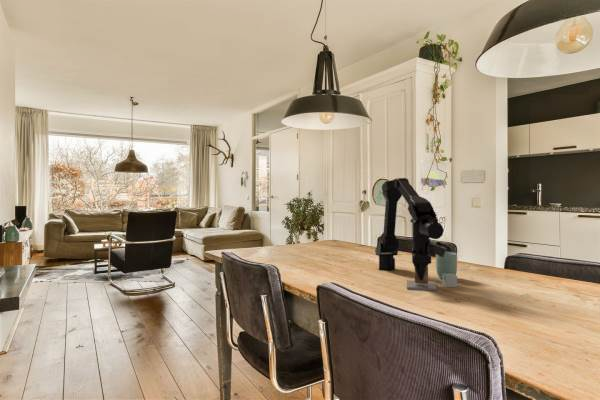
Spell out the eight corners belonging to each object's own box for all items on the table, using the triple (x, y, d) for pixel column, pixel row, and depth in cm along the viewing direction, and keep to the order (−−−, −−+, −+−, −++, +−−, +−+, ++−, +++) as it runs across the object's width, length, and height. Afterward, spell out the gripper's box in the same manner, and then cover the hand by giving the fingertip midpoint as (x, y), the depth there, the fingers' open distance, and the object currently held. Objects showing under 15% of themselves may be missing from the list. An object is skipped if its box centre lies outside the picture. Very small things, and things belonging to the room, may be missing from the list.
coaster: (406, 289, 129) (406, 287, 129) (407, 282, 139) (407, 280, 139) (436, 291, 126) (436, 288, 126) (434, 283, 136) (434, 281, 136)
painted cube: (446, 287, 132) (445, 276, 132) (442, 284, 136) (441, 273, 136) (457, 287, 131) (457, 276, 131) (452, 284, 135) (452, 273, 135)
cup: (460, 280, 140) (460, 254, 140) (440, 280, 140) (440, 255, 140) (452, 276, 148) (452, 251, 148) (433, 276, 148) (433, 251, 148)
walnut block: (414, 282, 131) (414, 266, 131) (414, 280, 135) (414, 264, 135) (428, 283, 130) (428, 267, 130) (427, 280, 134) (427, 264, 134)
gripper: (447, 239, 121) (447, 286, 121) (442, 233, 139) (442, 273, 139) (412, 238, 124) (412, 284, 125) (411, 232, 142) (412, 272, 142)
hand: (421, 278), depth 133 cm, fingers closed on walnut block, 4 cm apart
